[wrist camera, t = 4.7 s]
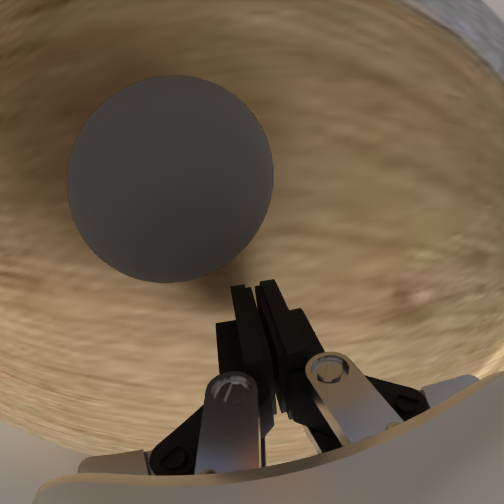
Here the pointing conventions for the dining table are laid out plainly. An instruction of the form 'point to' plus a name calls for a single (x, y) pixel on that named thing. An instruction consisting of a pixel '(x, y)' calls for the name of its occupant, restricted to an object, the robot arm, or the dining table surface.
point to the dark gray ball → (170, 179)
